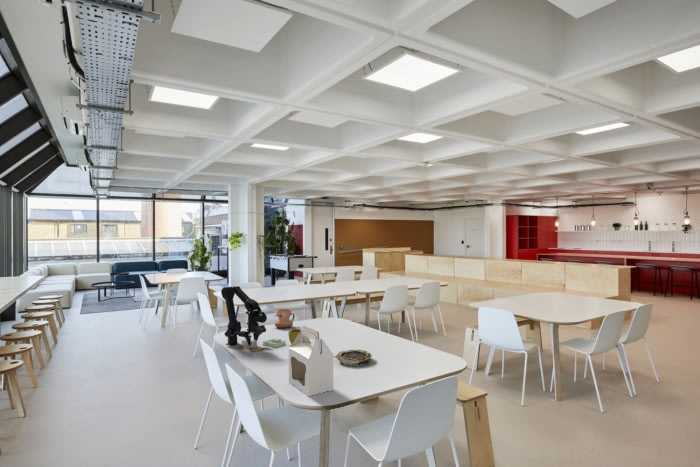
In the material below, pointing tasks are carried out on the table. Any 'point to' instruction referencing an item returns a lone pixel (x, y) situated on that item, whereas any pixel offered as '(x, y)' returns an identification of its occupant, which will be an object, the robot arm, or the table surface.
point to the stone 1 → (244, 343)
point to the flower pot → (293, 334)
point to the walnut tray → (256, 349)
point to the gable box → (310, 363)
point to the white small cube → (253, 343)
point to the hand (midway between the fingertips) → (252, 344)
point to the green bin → (271, 344)
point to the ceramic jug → (284, 318)
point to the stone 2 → (276, 340)
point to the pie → (353, 357)
